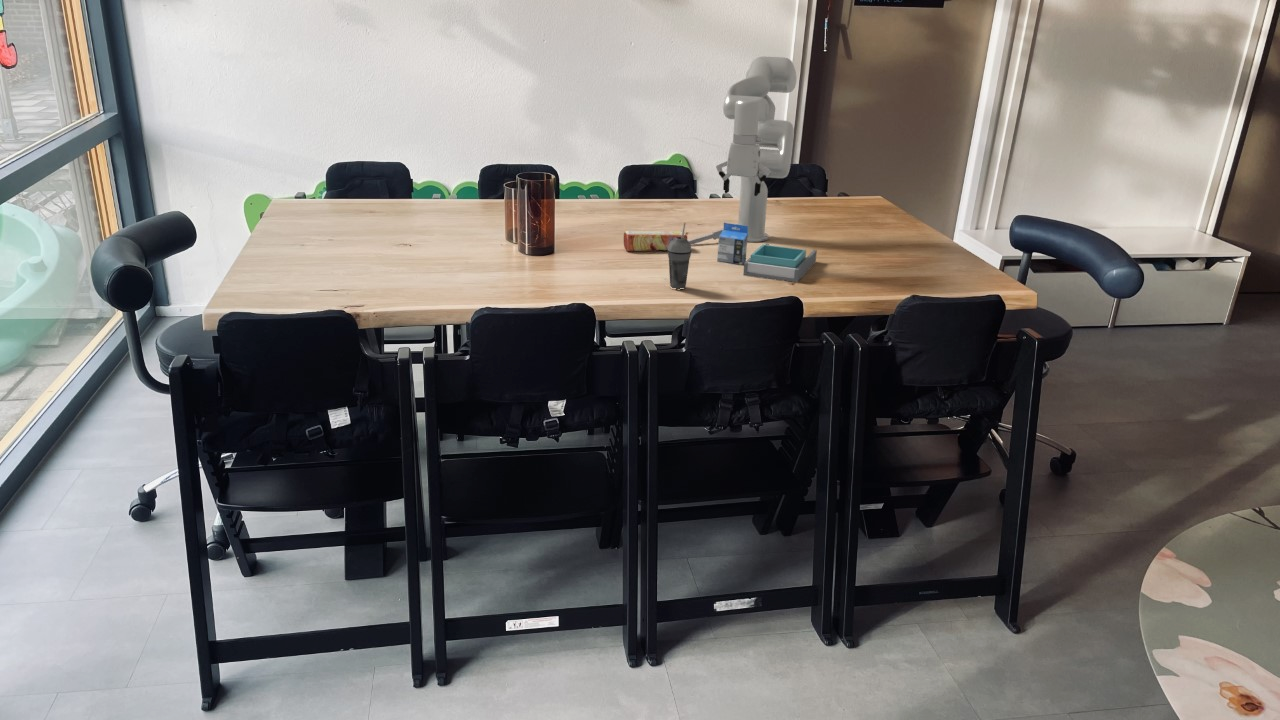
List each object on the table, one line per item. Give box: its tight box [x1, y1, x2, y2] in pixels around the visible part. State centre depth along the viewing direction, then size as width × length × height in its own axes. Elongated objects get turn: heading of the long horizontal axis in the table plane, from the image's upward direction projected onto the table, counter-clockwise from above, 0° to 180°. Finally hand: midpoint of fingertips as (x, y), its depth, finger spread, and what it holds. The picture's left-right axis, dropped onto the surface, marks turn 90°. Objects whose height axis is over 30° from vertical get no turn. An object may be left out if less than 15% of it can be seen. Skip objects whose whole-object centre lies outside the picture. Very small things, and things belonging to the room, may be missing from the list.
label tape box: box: [716, 222, 748, 266], centre depth 325 cm, size 9×4×12 cm, turn 62°
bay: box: [742, 243, 818, 283], centre depth 321 cm, size 17×26×4 cm, turn 158°
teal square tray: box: [750, 244, 807, 268], centre depth 317 cm, size 14×14×5 cm
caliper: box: [687, 228, 724, 246], centre depth 347 cm, size 20×1×6 cm, turn 116°
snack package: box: [623, 230, 688, 252], centre depth 337 cm, size 21×7×7 cm, turn 99°
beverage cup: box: [666, 222, 692, 289], centre depth 295 cm, size 7×7×20 cm
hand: (741, 193), depth 319 cm, fingers open, 9 cm apart
